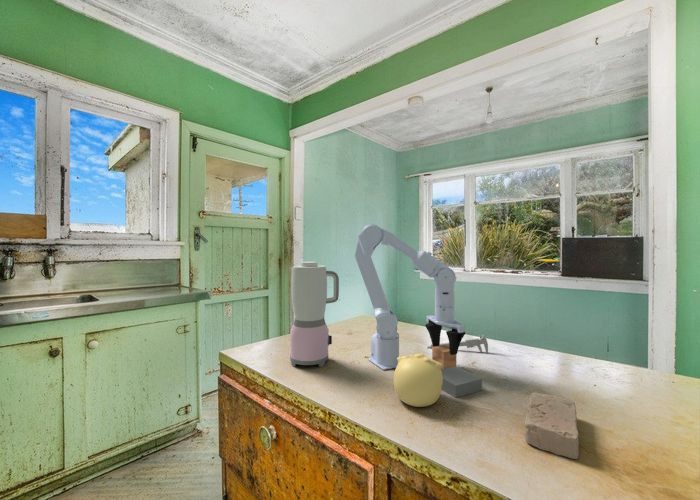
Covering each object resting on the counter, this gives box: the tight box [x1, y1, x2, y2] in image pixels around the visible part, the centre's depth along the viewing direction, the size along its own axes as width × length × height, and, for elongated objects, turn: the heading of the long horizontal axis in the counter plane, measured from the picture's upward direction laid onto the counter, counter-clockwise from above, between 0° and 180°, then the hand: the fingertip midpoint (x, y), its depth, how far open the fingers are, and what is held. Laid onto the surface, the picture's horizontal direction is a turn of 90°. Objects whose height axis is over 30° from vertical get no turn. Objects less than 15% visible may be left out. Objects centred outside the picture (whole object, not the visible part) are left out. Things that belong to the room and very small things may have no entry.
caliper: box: [426, 334, 489, 354], centre depth 110 cm, size 20×1×6 cm, turn 75°
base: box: [441, 365, 483, 399], centre depth 82 cm, size 9×9×3 cm
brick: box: [524, 391, 580, 460], centre depth 63 cm, size 17×8×5 cm, turn 146°
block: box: [431, 345, 458, 370], centre depth 95 cm, size 5×5×6 cm
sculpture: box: [392, 352, 443, 408], centre depth 75 cm, size 12×12×11 cm
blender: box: [289, 261, 340, 368], centre depth 100 cm, size 16×12×32 cm
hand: (444, 350), depth 95 cm, fingers open, 7 cm apart
